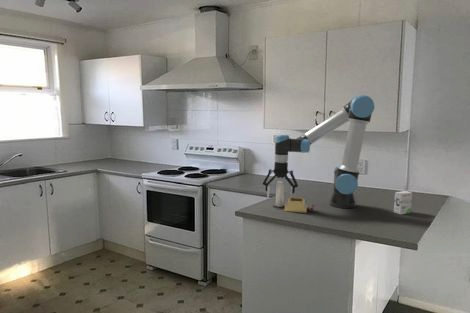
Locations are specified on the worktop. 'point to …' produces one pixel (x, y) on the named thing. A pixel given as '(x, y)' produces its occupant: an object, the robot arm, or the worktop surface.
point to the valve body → (297, 205)
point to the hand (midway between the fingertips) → (279, 197)
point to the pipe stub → (279, 194)
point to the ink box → (402, 202)
